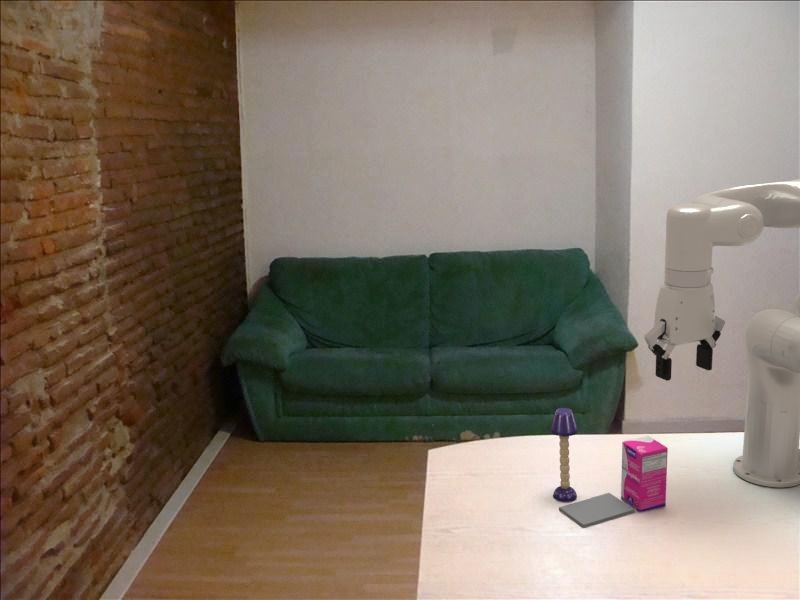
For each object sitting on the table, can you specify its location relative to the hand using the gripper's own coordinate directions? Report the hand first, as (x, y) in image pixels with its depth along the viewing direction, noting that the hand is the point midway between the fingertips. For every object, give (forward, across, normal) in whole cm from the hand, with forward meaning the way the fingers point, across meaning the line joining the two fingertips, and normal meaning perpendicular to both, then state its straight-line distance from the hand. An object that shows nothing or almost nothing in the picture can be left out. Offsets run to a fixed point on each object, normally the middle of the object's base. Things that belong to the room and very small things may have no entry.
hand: (683, 372), depth 152 cm
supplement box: (+23, +8, 0) cm, 25 cm away
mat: (+23, +17, -2) cm, 29 cm away
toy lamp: (+23, +19, -9) cm, 31 cm away
